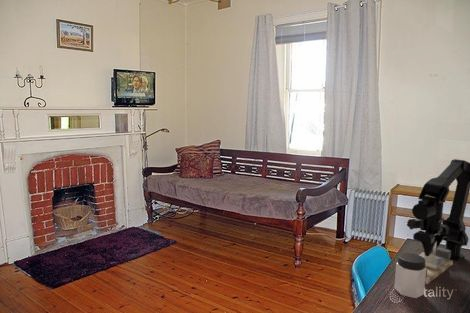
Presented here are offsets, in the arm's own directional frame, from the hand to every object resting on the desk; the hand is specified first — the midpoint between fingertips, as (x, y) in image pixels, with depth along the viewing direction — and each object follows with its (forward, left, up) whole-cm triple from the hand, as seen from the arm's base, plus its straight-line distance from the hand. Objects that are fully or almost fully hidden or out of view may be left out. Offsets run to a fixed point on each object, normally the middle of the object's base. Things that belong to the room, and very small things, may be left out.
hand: (429, 254), depth 137 cm
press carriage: (0, 0, -4) cm, 4 cm away
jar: (+24, +3, -6) cm, 25 cm away
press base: (+2, 0, -6) cm, 6 cm away
